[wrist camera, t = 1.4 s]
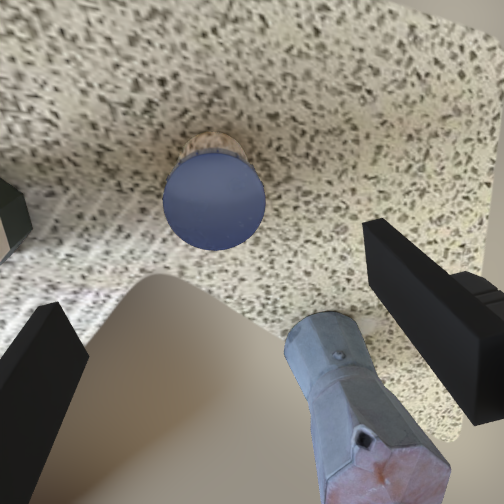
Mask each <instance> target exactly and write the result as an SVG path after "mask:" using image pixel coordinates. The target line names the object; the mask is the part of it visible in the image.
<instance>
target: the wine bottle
mask: <svg viewBox="0 0 504 504" xmlns="http://www.w3.org/2000/svg"><path fill="white" fill-rule="evenodd" d="M32 229H33V228H32V224H31V221H30V217H29V213H28V210H27V206H26V203H25V199H24V195H23V193H21V192H20V191H18V190H17V189H15V188H14V187H13V186H11V185H10V184H8V183H7V182H6V181H4V180H3V179H1V178H0V265H1V264H2V263H3V262H4V261H5V260H6V259H7V258H8V257H10V256H11V255H12V254H13V253H14V251H15V250H16V249H17V248H18V247H19V245H20V244H21V243H22V242H23V240H24V239H25V238H26V237H27V236H28V234H29V233H30V232H31V231H32Z"/></svg>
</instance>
